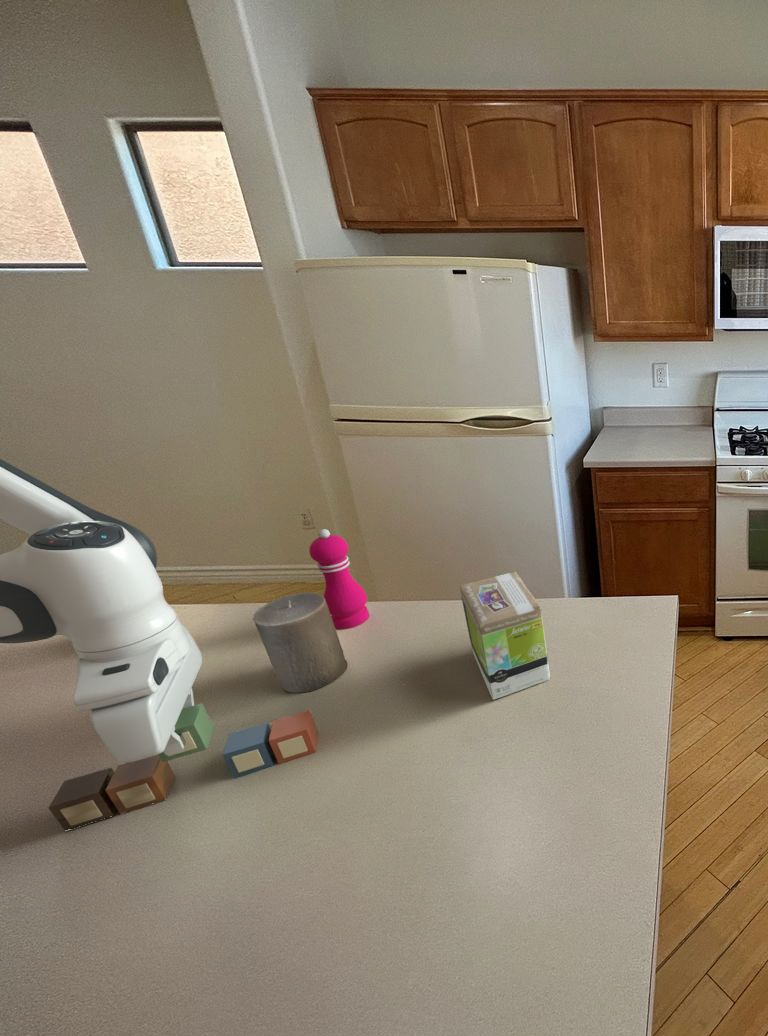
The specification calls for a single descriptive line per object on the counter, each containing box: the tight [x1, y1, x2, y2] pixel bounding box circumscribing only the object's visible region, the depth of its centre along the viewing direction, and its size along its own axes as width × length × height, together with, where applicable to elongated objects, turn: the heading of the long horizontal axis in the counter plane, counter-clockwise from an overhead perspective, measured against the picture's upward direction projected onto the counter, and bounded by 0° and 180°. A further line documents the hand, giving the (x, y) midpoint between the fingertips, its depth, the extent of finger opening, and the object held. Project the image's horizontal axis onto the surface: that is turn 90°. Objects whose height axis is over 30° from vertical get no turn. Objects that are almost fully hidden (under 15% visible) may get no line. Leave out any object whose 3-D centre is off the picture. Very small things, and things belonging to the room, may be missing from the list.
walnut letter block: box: [48, 766, 118, 831], centre depth 70 cm, size 4×5×4 cm
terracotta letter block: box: [269, 709, 319, 764], centre depth 80 cm, size 4×5×4 cm
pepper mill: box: [308, 528, 370, 630], centre depth 106 cm, size 7×7×20 cm
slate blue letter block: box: [222, 722, 276, 779], centre depth 77 cm, size 4×4×4 cm
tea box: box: [459, 571, 551, 701], centre depth 95 cm, size 15×10×15 cm
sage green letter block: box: [159, 703, 215, 762], centre depth 72 cm, size 4×4×4 cm
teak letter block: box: [105, 754, 176, 815], centre depth 72 cm, size 4×5×4 cm
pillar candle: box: [252, 591, 348, 694], centre depth 92 cm, size 10×10×15 cm
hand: (182, 734), depth 73 cm, fingers closed on sage green letter block, 4 cm apart
